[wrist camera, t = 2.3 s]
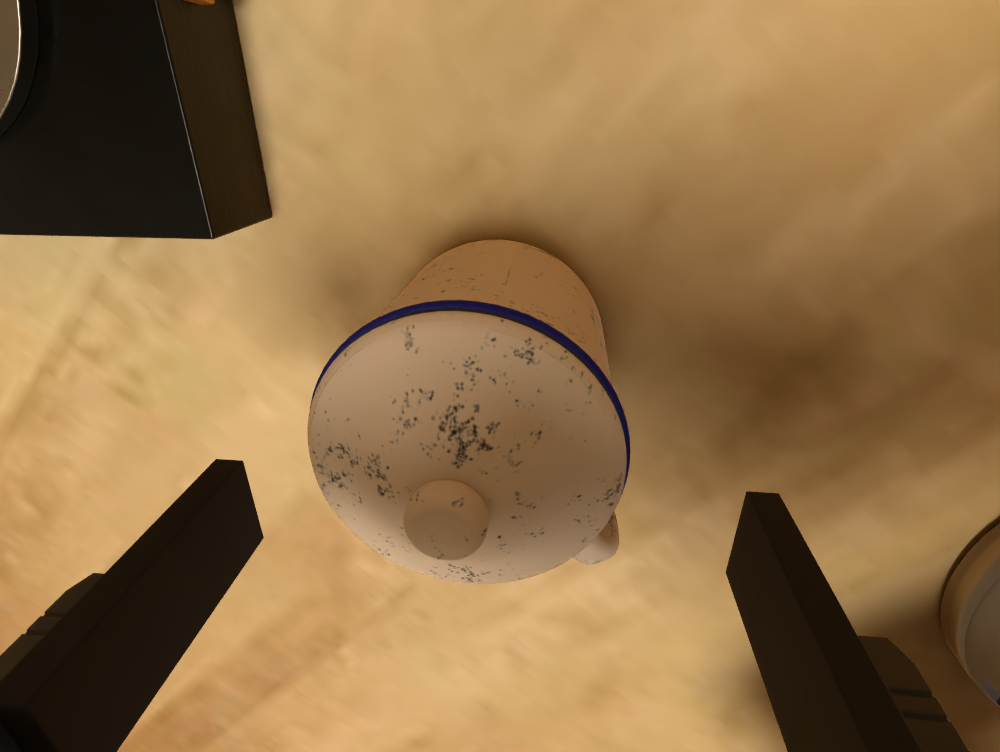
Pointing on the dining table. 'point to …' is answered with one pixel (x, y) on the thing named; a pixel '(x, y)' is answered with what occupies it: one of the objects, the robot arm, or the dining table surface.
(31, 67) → the cup warmer
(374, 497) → the teacup with lid
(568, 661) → the dining table surface
